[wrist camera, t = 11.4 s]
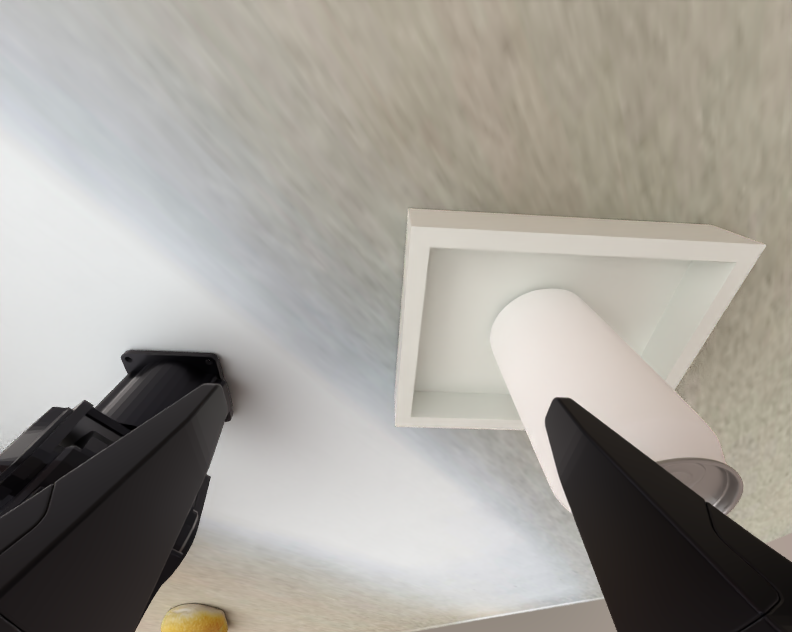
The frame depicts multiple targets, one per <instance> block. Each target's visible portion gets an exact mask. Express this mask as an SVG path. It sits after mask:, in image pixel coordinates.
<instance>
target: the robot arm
mask: <svg viewBox="0 0 792 632" xmlns="http://www.w3.org/2000/svg"><path fill="white" fill-rule="evenodd" d="M208 359H209V360H211V361H209V360H208ZM121 360H122V362H123V364H124V367H125V369H126V371H127V373H128V375H127V376H126V377H125V378H124V379H123V380H122V381H121V382H120V383H119V384H118V385H117V386H116V387H115V388H114V389H113V390H112V391H111V392H110V393H109V394H108V395H107V396H106V397H105V398H104V399H103V400H102V401H101V402H100V403H99V404H98V405H97V406H96V407H95V408H94V407H93V406H94V405H93V404H91V403H89V402H88V401H86V400H84V401H82V402H81V403H80V404H78V405H77V406H76V407H75V408H73V409H71V408H69V407H68V408H60V407H52V408H51V409H50V410H48V411H47V412H46V413H45V414H44V415H43V416H41V417H40V418H39V419H38V420H37V421H36V422H35V423H34V424H32V425H31V426H30V427H29V428H28V429H27V430H26V431H25V432H23V433H22V434H21V435H20V436H19V437H18V438H17V439H16V440H15V441H14V442H13V443H11V444H10V445H9V446H8V447H7V448H6V449H5V450H4V451H3V452H2V453H1V454H0V632H135V630H136V628H137V626H138V624H139V623H140V621H141V619H142V617H143V615H144V613H145V612H146V610H147V608H148V606H149V604H150V603H151V601H152V599H153V597H154V596H155V594H156V593H157V591H158V590H159V588H160V587H161V585H162V584H163V583H164V582H165V581H166V580H167V579H168V578H169V577H170V576H171V575H172V574H173V573H174V571H175V570H176V569H177V567H178V566H179V565H180V563H181V562H182V560H183V559H184V557H185V556H186V554H187V552H188V550H189V549H190V547H191V545H192V543H193V540H194V538H195V535H196V532H197V529H198V525H199V521H200V517H201V514H202V510H203V506H204V502H205V498H206V494H207V490H208V486H209V482H210V478H211V477H210V476H209V475H207V471H208V469H209V466H210V463H211V461H212V458H213V455H214V452H215V449H216V446H217V443H218V440H219V437H220V434H221V431H222V428H223V425H224V422H227V421H230V420H231V418H232V416H233V411H232V401H231V397H230V393H229V389H228V386H227V382H226V381H225V379H224V377H223V373H222V369H221V365H220V362H219V358H218V357H217V356H216V355H215V354H212V353H191V352H162V351H134V350H129V351H126V352H125V353H124V354H123V355H122V356H121ZM545 428H546V431H547V435H548V439H549V443H550V446H551V450H552V454H553V458H554V462H555V465H556V469H557V473H558V476H559V479H560V482H561V485H562V488H563V490H564V493H565V496H566V498H567V501H568V504H569V506H570V509H571V511H572V514H573V517H574V519H575V522H576V525H577V527H578V530H579V532H580V535H581V538H582V540H583V543H584V546H585V548H586V551H587V553H588V556H589V559H590V561H591V564H592V567H593V569H594V572H595V574H596V577H597V580H598V582H599V585H600V588H601V590H602V593H603V595H604V598H605V601H606V603H607V606H608V609H609V611H610V614H611V616H612V619H613V622H614V624H615V627H616V630H617V632H792V562H791V561H789V560H788V559H786V558H785V557H783V556H782V555H781V554H779V553H778V552H776V551H775V550H774V549H772V548H771V547H769V546H768V545H766V544H765V543H763V542H762V541H761V540H759V539H758V538H756V537H755V536H754V535H752V534H751V533H749V532H748V531H747V530H745V529H744V528H743V527H741V526H740V525H739V524H737V523H736V522H734V521H733V520H732V519H730V518H729V517H728V516H726V515H725V514H724V513H722V512H721V511H720V510H718V509H717V508H716V507H714V506H713V505H712V504H710V503H709V502H705V500H704V498H702V497H701V496H700V495H698V494H697V493H696V492H694V491H693V490H692V489H690V488H689V487H688V486H686V485H685V484H684V483H682V482H681V481H680V480H678V479H677V478H676V477H675V476H673V475H672V474H671V473H669V472H668V471H667V470H665V469H664V468H663V467H661V466H660V465H659V464H657V463H656V462H655V461H653V460H652V459H651V458H649V457H648V456H647V455H645V454H644V453H643V452H641V451H640V450H639V449H637V448H636V447H635V446H633V445H632V444H631V443H629V442H628V441H627V440H626V439H624V438H623V437H622V436H620V435H619V434H618V433H616V432H615V431H614V430H612V429H611V428H610V427H608V426H607V425H606V424H604V423H603V422H602V421H600V420H599V419H598V418H596V417H595V416H594V415H592V414H591V413H590V412H588V411H587V410H586V409H584V408H583V407H582V406H580V405H579V404H578V403H577V402H575V401H574V400H572V399H571V398H568V397H555V398H554V399H553V400H552V402H551V404H550V407H549V409H548V412H547V414H546V417H545Z"/></svg>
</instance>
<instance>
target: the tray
mask: <svg viewBox="0 0 792 632" xmlns="http://www.w3.org/2000/svg"><path fill="white" fill-rule="evenodd" d="M765 247H766V244H763V243H761V242H758V241H755V240H752V239H750V238H747V237H744V236H741V235H739V234H736V233H733V232H730V231H728V230H725V229H722V228H719V227H716V226H714V225H708V224H690V223H671V222H653V221H635V220H616V219H598V218H579V217H561V216H542V215H524V214H506V213H487V212H469V211H450V210H432V209H414V208H408V215H407V229H406V242H405V256H404V269H403V283H402V296H401V310H400V323H399V337H398V351H397V364H396V378H395V427H423V428H461V429H499V430H525V428H524V425H523V423H522V421H521V418H520V416H519V414H518V411H517V409H516V407H515V404H514V402H513V400H512V397H511V395H510V392H509V390H508V388H507V385H506V383H505V381H504V378H503V376H502V374H501V371H500V369H499V366H498V364H497V361H496V359H495V357H494V354H493V351H492V349H491V345H490V332H491V328H492V325H493V323H494V321H495V319H496V317H497V316H498V314H499V313H500V312H501V311H502V310H503V309H504V307H506V306H507V305H508V304H509V303H510V302H512V301H513V300H514V299H516V298H518V297H519V296H521V295H524V294H526V293H528V292H531V291H535V290H540V289H552V288H553V289H563V290H567V291H570V292H572V293H574V294H576V295H577V296H578V297H579V298H581V299H582V300H583V301H584V302H585V303H586V304H587V305H588V306H589V307H590V308H591V309H592V310H593V311H595V312H596V313H597V314H598V315H599V316H600V317H601V318H602V319H603V320H604V321H605V322H606V323H607V324H608V325H609V326H610V327H611V328H612V329H613V330H614V331H615V332H616V333H617V334H618V335H619V336H620V337H621V338H622V339H623V340H624V341H625V342H626V343H627V344H628V345H629V346H630V347H631V348H632V349H633V350H634V351H635V352H636V353H637V354H638V355H639V356H640V357H641V358H642V359H643V360H644V361H645V362H646V363H647V364H648V365H649V366H650V367H651V368H652V369H653V370H654V371H655V372H656V373H657V374H658V375H659V376H660V377H661V378H662V379H663V380H664V381H665V382H666V383H667V384H668V385H669V386H670V387H671V388H672V389H673V390H675V389H676V387H677V385H678V384H679V382H680V381H681V379H682V378H683V376H684V374H685V373H686V371H687V370H688V368H689V367H690V365H691V363H692V362H693V360H694V359H695V357H696V356H697V354H698V352H699V351H700V349H701V348H702V346H703V344H704V343H705V341H706V340H707V338H708V337H709V335H710V333H711V332H712V330H713V329H714V327H715V326H716V324H717V322H718V321H719V319H720V318H721V316H722V315H723V313H724V311H725V310H726V308H727V307H728V305H729V304H730V302H731V300H732V299H733V297H734V296H735V294H736V293H737V291H738V289H739V288H740V286H741V285H742V283H743V282H744V280H745V278H746V277H747V275H748V274H749V272H750V271H751V269H752V267H753V266H754V264H755V263H756V261H757V260H758V258H759V256H760V255H761V253H762V252H763V250H764V249H765Z"/></svg>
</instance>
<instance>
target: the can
mask: <svg viewBox="0 0 792 632" xmlns="http://www.w3.org/2000/svg"><path fill="white" fill-rule="evenodd" d="M490 345H491V349H492V351H493V354H494V357H495V359H496V361H497V364H498V366H499V369H500V371H501V374H502V376H503V378H504V381H505V383H506V385H507V388H508V390H509V392H510V395H511V397H512V400H513V402H514V404H515V407H516V409H517V411H518V414H519V416H520V418H521V421H522V423H523V425H524V428H525V430H526V432H527V435H528V437H529V439H530V442H531V444H532V446H533V449H534V451H535V453H536V456H537V458H538V460H539V463H540V465H541V467H542V470H543V472H544V474H545V476H546V479H547V481H548V483H549V485H550V487H551V489H552V491H553V493H554V495H555V497H556V498H557V499H558V501H559V502H560V503H561V504H562V505H563V506H564V507H565V508H566V509H567V510H568V511H569V512H570V513H571V514H572V511H571V509H570V506H569V504H568V501H567V498H566V496H565V493H564V490H563V488H562V485H561V482H560V479H559V476H558V473H557V469H556V465H555V462H554V458H553V454H552V450H551V446H550V443H549V439H548V435H547V431H546V428H545V417H546V414H547V412H548V409H549V407H550V404H551V402H552V400H553V399H554V398H555V397H568V398H571V399H572V400H574V401H575V402H577V403H578V404H579V405H580V406H582V407H583V408H584V409H586V410H587V411H588V412H590V413H591V414H592V415H594V416H595V417H596V418H598V419H599V420H600V421H602V422H603V423H604V424H606V425H607V426H608V427H610V428H611V429H612V430H614V431H615V432H616V433H618V434H619V435H620V436H622V437H623V438H624V439H626V440H627V441H628V442H629V443H631V444H632V445H633V446H635V447H636V448H637V449H639V450H640V451H641V452H643V453H644V454H645V455H647V456H648V457H649V458H651V459H652V460H653V461H655V462H656V463H657V464H659V465H660V466H661V467H663V468H664V469H665V470H667V471H668V472H669V473H671V474H672V475H673V476H675V477H676V478H677V479H678V480H680V481H681V482H682V483H684V484H685V485H686V486H688V487H689V488H690V489H692V490H693V491H694V492H696V493H697V494H698V495H700V496H701V497H702V498H704V500H705V502H709V503H710V504H712V505H713V506H714V507H716V508H717V509H718V510H720V511H721V512H722V513H724V514H725V515H727V514H728V513H729V512H730V511H731V510H732V509H733V508H734V507H735V506H736V505H737V503H738V502H739V500H740V498H741V496H742V493H743V482H742V479H741V477H740V475H739V474H738V473H737V472H736V471H735V470H734V469H733V468H732V467H730V466H728V465H727V463H726V460H725V457H724V454H723V451H722V447H721V445H720V442H719V440H718V438H717V436H716V434H715V433H714V432H713V430H712V429H711V428H710V427H709V425H708V424H707V423H706V422H705V421H704V420H703V419H702V418H701V417H700V416H699V415H698V414H697V413H696V412H695V411H694V410H693V409H692V408H691V407H690V406H689V405H688V404H687V403H686V402H685V401H684V400H683V399H682V398H681V397H680V396H679V395H678V394H677V393H676V392H675V391H674V390H673V389H672V388H671V387H670V386H669V385H668V384H667V383H666V382H665V381H664V380H663V379H662V378H661V377H660V376H659V375H658V374H657V373H656V372H655V371H654V370H653V369H652V368H651V367H650V366H649V365H648V364H647V363H646V362H645V361H644V360H643V359H642V358H641V357H640V356H639V355H638V354H637V353H636V352H635V351H634V350H633V349H632V348H631V347H630V346H629V345H628V344H627V343H626V342H625V341H624V340H623V339H622V338H621V337H620V336H619V335H618V334H617V333H616V332H615V331H614V330H613V329H612V328H611V327H610V326H609V325H608V324H607V323H606V322H605V321H604V320H603V319H602V318H601V317H600V316H599V315H598V314H597V313H596V312H595V311H593V310H592V309H591V308H590V307H589V306H588V305H587V304H586V303H585V302H584V301H583V300H582V299H581V298H579V297H578V296H577V295H576V294H574V293H572V292H570V291H567V290H563V289H553V288H552V289H540V290H535V291H531V292H528V293H526V294H524V295H521V296H519V297H518V298H516V299H514V300H513V301H512V302H510V303H509V304H508V305H507V306H506V307H504V309H503V310H502V311H501V312H500V313H499V314H498V316H497V317H496V319H495V321H494V323H493V325H492V328H491V332H490ZM572 515H573V514H572Z"/></svg>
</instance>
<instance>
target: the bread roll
mask: <svg viewBox="0 0 792 632" xmlns="http://www.w3.org/2000/svg"><path fill="white" fill-rule="evenodd" d="M227 630H228V625H227V620H226V618H225V614H224V612H223V611H222V610H220V609H217V608H214V607H210V606H206V605H202V604H183V605H180V606H177V607H174V608H172V609H171V610H169V611H168V612H167V614H166V615H165V617H164V619H163V621H162V624H161V632H227Z"/></svg>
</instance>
